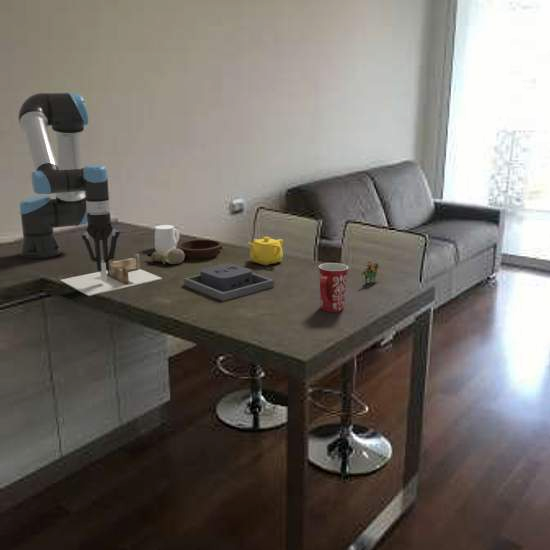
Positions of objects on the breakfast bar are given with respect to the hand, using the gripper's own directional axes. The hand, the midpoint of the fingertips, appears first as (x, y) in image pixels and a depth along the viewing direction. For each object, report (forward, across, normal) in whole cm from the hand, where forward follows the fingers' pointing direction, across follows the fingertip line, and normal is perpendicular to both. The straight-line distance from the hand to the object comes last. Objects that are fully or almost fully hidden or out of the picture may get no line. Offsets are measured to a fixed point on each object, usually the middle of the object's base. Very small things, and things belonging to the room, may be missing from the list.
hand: (103, 279), depth 209 cm
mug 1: (+2, +36, +40) cm, 53 cm away
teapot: (+2, +62, 0) cm, 63 cm away
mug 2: (+2, +56, -56) cm, 80 cm away
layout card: (+2, +4, +4) cm, 6 cm away
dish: (+2, +44, +22) cm, 49 cm away
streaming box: (+2, +38, -18) cm, 42 cm away
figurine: (+2, +83, -40) cm, 92 cm away
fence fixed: (+2, +10, +11) cm, 15 cm away
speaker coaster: (+2, +38, -21) cm, 43 cm away
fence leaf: (+1, +6, +2) cm, 6 cm away
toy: (+2, +29, +19) cm, 34 cm away
